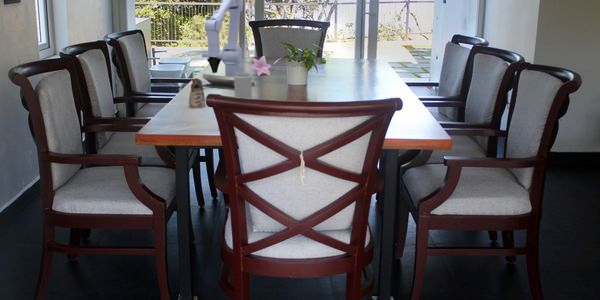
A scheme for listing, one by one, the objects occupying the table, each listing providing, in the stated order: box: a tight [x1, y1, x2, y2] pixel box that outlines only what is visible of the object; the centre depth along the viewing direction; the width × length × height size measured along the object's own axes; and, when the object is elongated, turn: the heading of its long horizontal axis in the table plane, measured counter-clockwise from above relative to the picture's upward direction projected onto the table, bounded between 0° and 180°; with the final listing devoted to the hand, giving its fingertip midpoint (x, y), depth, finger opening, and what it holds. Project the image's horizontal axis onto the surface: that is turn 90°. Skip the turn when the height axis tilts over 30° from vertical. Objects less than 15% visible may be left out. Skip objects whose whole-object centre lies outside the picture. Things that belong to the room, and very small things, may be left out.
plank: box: [201, 73, 235, 86], centre depth 345 cm, size 7×22×2 cm
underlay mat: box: [202, 83, 256, 91], centre depth 348 cm, size 15×23×1 cm, turn 55°
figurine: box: [188, 77, 207, 108], centre depth 296 cm, size 7×7×12 cm
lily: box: [249, 55, 272, 77], centre depth 384 cm, size 12×12×10 cm
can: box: [234, 71, 253, 99], centre depth 309 cm, size 8×8×12 cm
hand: (214, 72), depth 345 cm, fingers closed
